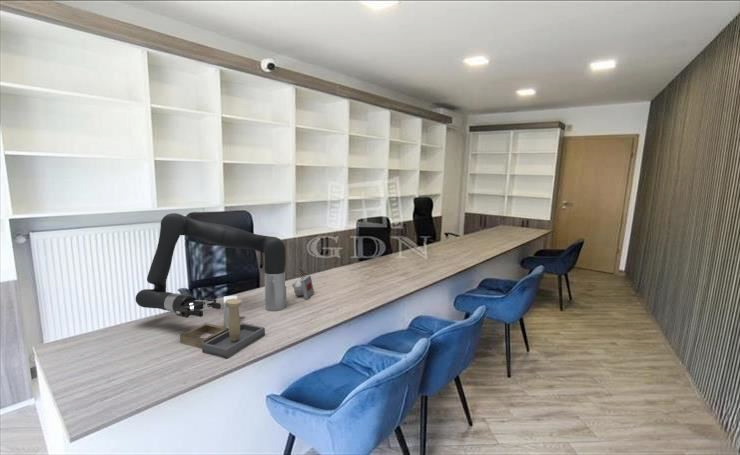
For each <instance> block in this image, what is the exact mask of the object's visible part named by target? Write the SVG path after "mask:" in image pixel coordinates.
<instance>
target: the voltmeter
mask: <svg viewBox="0 0 740 455" xmlns="http://www.w3.org/2000/svg"><path fill="white" fill-rule="evenodd" d="M299 271H301V276H300V277H299V278H300V280H296V281H294V283H292V288H293V290H294V294H295V296H297V297H301V296H302V299H304V300H307V299H309V298H310V297H311V296H312V295H314V294H315V291H314V286H313V281H312V276H311V275H306V273H305V272H304V270H302V269H301V268H300V269H299Z"/></svg>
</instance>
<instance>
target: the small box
mask: <svg viewBox="0 0 740 455" xmlns="http://www.w3.org/2000/svg"><path fill="white" fill-rule="evenodd" d="M228 299H239V298H238V295H227V296H223V301H222V305H223V306H222V307H223V308H222V309H223V327H226V328H229V307H227V306H226V300H228Z"/></svg>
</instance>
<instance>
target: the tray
mask: <svg viewBox="0 0 740 455" xmlns="http://www.w3.org/2000/svg"><path fill="white" fill-rule="evenodd" d="M264 336H266V327H265V326H259V325H255V324H249V323H244V322H242V323H241V322H240V336H239V341H236V342H231V341H230V335H229V330H228V331H226V332H224V333H222V334H220V335H218V336H216V337H214V338H213V339H211V340H209V341H207V342H205V343H203V344H202V348H201V352H202V353H204V354H208V355H211V356H216V357H220V358H222V359H228V358H230V357H231V356H234V355H235V354H237V353H238V352H240V351H241V350H243V349H245V348H246V347H248V346H250V345H251V344H253V343H255V342H256V341H257V340H259V339H261V338H262V337H264Z"/></svg>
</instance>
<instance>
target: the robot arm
mask: <svg viewBox="0 0 740 455" xmlns="http://www.w3.org/2000/svg"><path fill="white" fill-rule="evenodd" d="M159 230H160V231H159V236H158V242H157V245H156V249H155V250H156V251H155V252H154V256H153V258H152V261H151V264H150V267H149V271H148V274H147V278H146V281H147V283H148V284H151V285H153V288H152V289H150V288H148V289H146V288H145V289H141V290H140V291H138V293H136V295H135V302H136V304H137V305H138V306H139V307H142V308H145V309H158V310H159V309H160V310H163V311H166V312H170V313H173V314H176V316H178V317H183V318H189V317H198V318H202V317H204V311H203V310H205V311H206V310H208V309H216V310H221V308H222V304H221V303H220V302H217V299H216V298H210V297H203V300H200V299H196V297H194V296H193V295H188V294H185V293H175V292H169V291H167V281H168V280H167V279H168V277H169V273H170V270H171V265H172V263H173V262H172V261H173V256H174V252H175V248H176V246H177V243H178V241H179V239H180V237H181V236H185V237H192V238H197V239H199V240H200V239H201V240H203V241H205V242H208V243H209V244H213V245H217V246H221V247H225V248H229V249H237V250H238V249H239V250H241V249H242V250H243V249H244V250H245V249H246V250H253V251H257V252H261V253H263V254H264V266H263V267H264V297H265V298H264V305H265V308H264V309H265V310H267V311H271V312H272V311H274V312H276V311H282V310H284V309H285V308H286V306H287V286H286V245H285V243H284V242H283V241H282V240H281V239H280V238H279V237H276V236H269V235H263V234H256V233H253V232H250V231H247V230H244V229H241V228H237V227H233V226H230V225H226V224H220V223H215V222H206V221H201V220H198V219H194V218H191V217H187V216H186V215H183V214H181V213H176V212H174V213H173V212H171V213H168V214H166V215H164V217H163V218H162V219H161V220H160V229H159ZM204 305H205V307H204Z"/></svg>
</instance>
